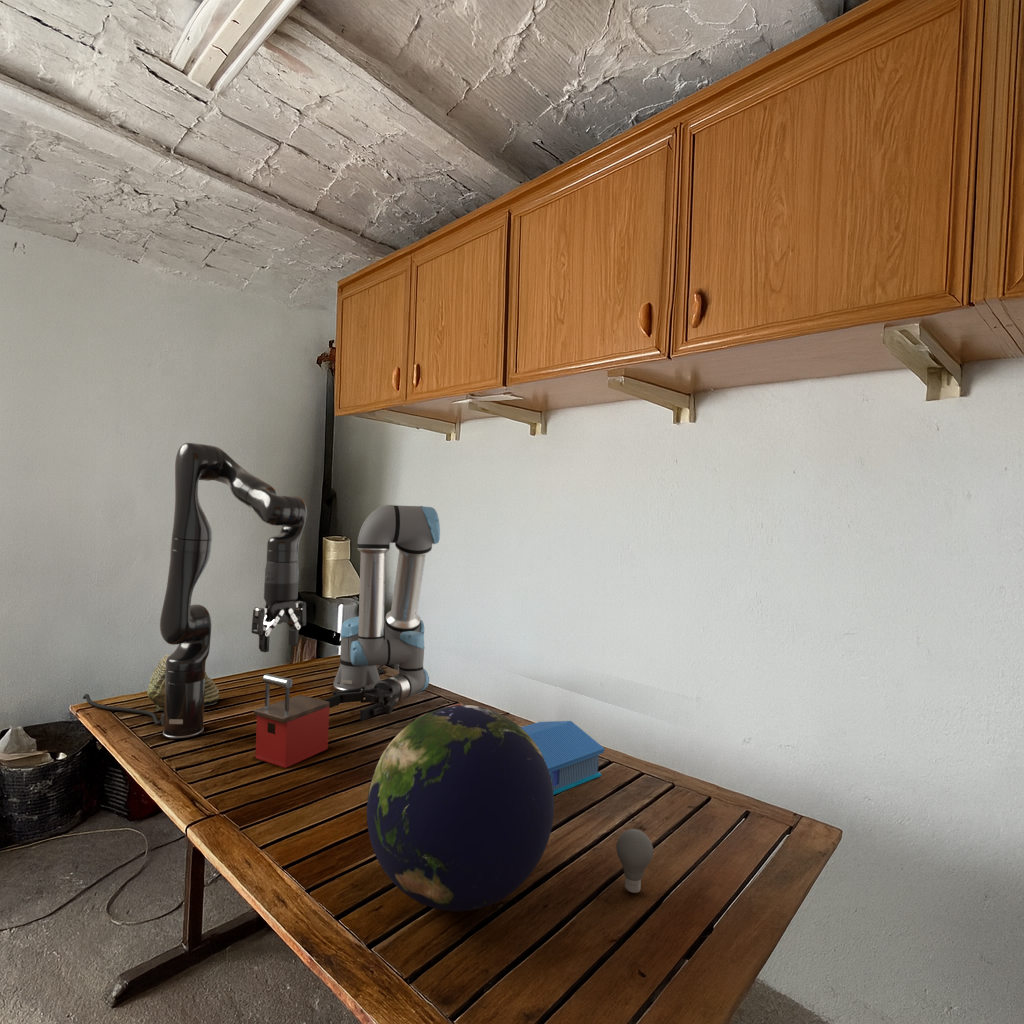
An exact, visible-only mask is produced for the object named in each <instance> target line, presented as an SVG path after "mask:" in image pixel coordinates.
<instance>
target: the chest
mask: <svg viewBox="0 0 1024 1024" xmlns="http://www.w3.org/2000/svg"><path fill="white" fill-rule="evenodd" d="M329 729H330V708H329V707H326V708H323V709H321V710H318V711H315V712H313V713H310V714H307V715H305V716H302V717H299V718H297V719H294V720H291V721H289V722H286V723H281V722H278V721H274V720H271V719H267V718H264V717H260V716H257V715H256V731H255V732H256V734H255V760H256V759H257V760H260V761H263V762H265V763H268V764H272V765H275V766H277V767H281V768H284V769H287V768H289V767H291V766H293V765H295V764H298V763H300V762H302V761H304V760H306V759H309V758H311V757H313V756H315V755H317V754H319V753H320V754H321V753H322V752H325V751H326V750H328V749H329Z"/></svg>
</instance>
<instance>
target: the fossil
mask: <svg viewBox="0 0 1024 1024" xmlns="http://www.w3.org/2000/svg"><path fill="white" fill-rule="evenodd" d="M170 655H171V654H165V655H164V656H163V657H162V658H161V659H160V660H159V662H158V663H157V666H156V667H155V669H154V670H153V672H152V675H151V677H150V680H149V684H148V688H147V697H148V699H149V700H150V701H152V703H153V704H154V706H155V711H158V712H159V711H162V712H163V711H164V705H165V674H166V660H167V658H168V657H169V656H170ZM220 698H221V696H220V690H219V688H218V686H217V685H216V683H215V682H214V681H213V679H212V678H211V677H209V675H208V674H207V672H206V671H205V693H204V707H207V706H213V705H215V704H217V703H218V701H219V699H220Z"/></svg>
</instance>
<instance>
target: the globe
mask: <svg viewBox="0 0 1024 1024" xmlns="http://www.w3.org/2000/svg"><path fill="white" fill-rule="evenodd" d="M450 706H451V705H450ZM426 713H427V714H426ZM426 713H424V714H425V715H423V714H422V715H423V716H421V715H420V716H421V717H419V716H418V717H419V718H418V719H416V718H415V719H416V720H413V721H411V722H409V724H407V725H406V726H405V727H404V728H402V729H401V731H399V733H398V734H396V736H395V737H394V738H393V739H392V740H391V741H390V742H389V743H388V745H387V747H385V749H384V751H382V754H381V755H380V758H379V760H378V762H377V763H376V766H375V769H374V771H373V774H372V777H371V780H370V783H369V787H368V788H369V789H368V794H367V801H366V822H367V832H368V836H369V840H370V844H371V847H372V851H373V853H374V855H375V857H376V859H377V861H378V864H379V865H380V867H381V869H382V870H383V872H384V873H385V875H386V876H387V877H388V878H389V880H390V881H391V883H393V884H394V885H395V886H396V887H397V888H398V890H400V891H401V892H402V893H404V894H405V895H406V896H408V897H409V898H410V899H412V900H413V901H415V902H417V903H419V904H421V905H424V906H426V907H428V908H429V907H430V908H431V909H436V910H439V911H445V912H455V913H456V912H471V911H475V910H479V909H483V908H486V907H489V906H491V905H494V904H496V903H499V902H500V901H502V900H503V899H505V898H506V897H508V896H509V895H511V894H512V893H514V892H515V891H516V890H517V889H518V888H519V887H520V886H522V885H523V884H524V882H526V880H527V879H528V878H529V877H530V875H532V873H533V871H534V870H535V869H536V867H537V866H538V864H539V863H540V860H541V859H542V857H543V855H544V853H545V850H546V848H547V846H548V843H549V841H550V837H551V833H552V827H553V823H554V814H555V795H554V794H553V786H552V782H551V777H550V774H549V770H548V767H547V765H546V763H545V760H544V757H543V755H542V753H541V752H540V750H539V748H538V747H537V745H536V744H535V742H534V741H533V740H532V739H531V737H530V736H529V735H528V734H527V733H526V732H525V731H524V730H523V729H522V728H521V727H522V726H520V725H518V723H516V722H514V721H513V720H512V719H510V718H508V717H507V716H505V715H503V714H501V713H499V712H497V711H494V710H493V709H489V708H485V707H482V706H477V705H469V704H468V705H467V704H465V705H464V706H451V707H447V706H445V708H444V707H442V708H438V709H435V710H432V711H429V712H426Z"/></svg>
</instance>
